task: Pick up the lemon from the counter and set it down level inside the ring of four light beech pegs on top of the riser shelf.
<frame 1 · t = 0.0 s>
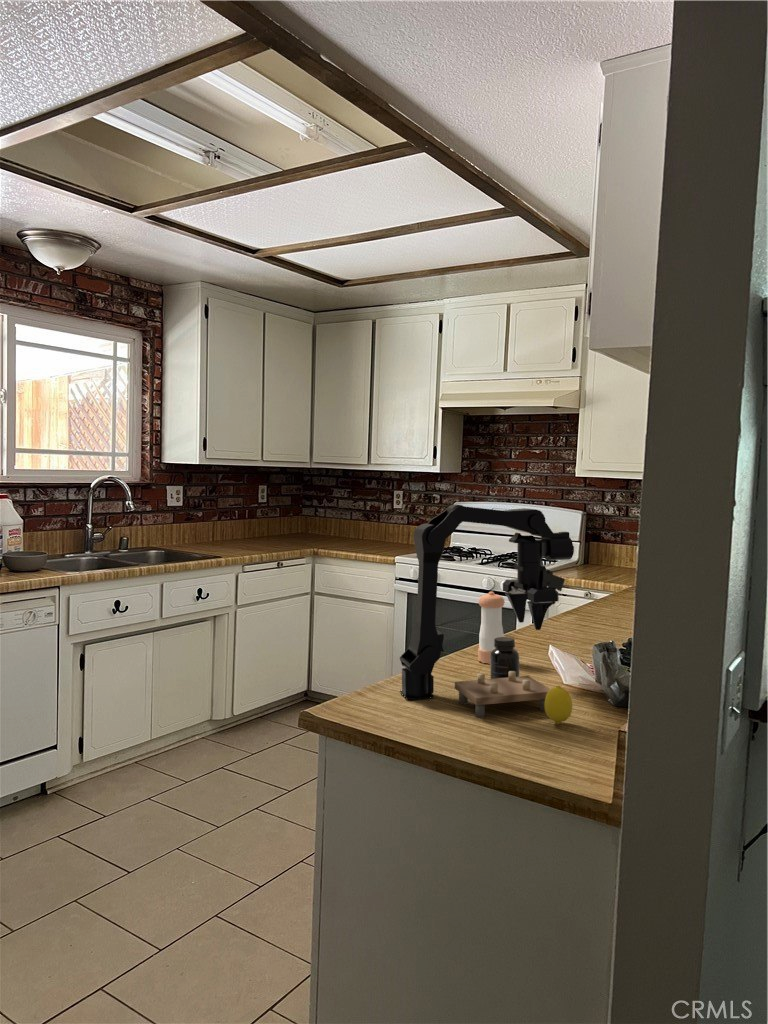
hand: (529, 626, 184), 15 cm above the counter, tool pointing down, fingers open, 9 cm apart
pepper shaker: (491, 662, 209), on the counter
peg shelf: (503, 706, 169), on the counter
lemon: (558, 725, 157), on the counter
supplement bottle: (504, 689, 183), on the counter
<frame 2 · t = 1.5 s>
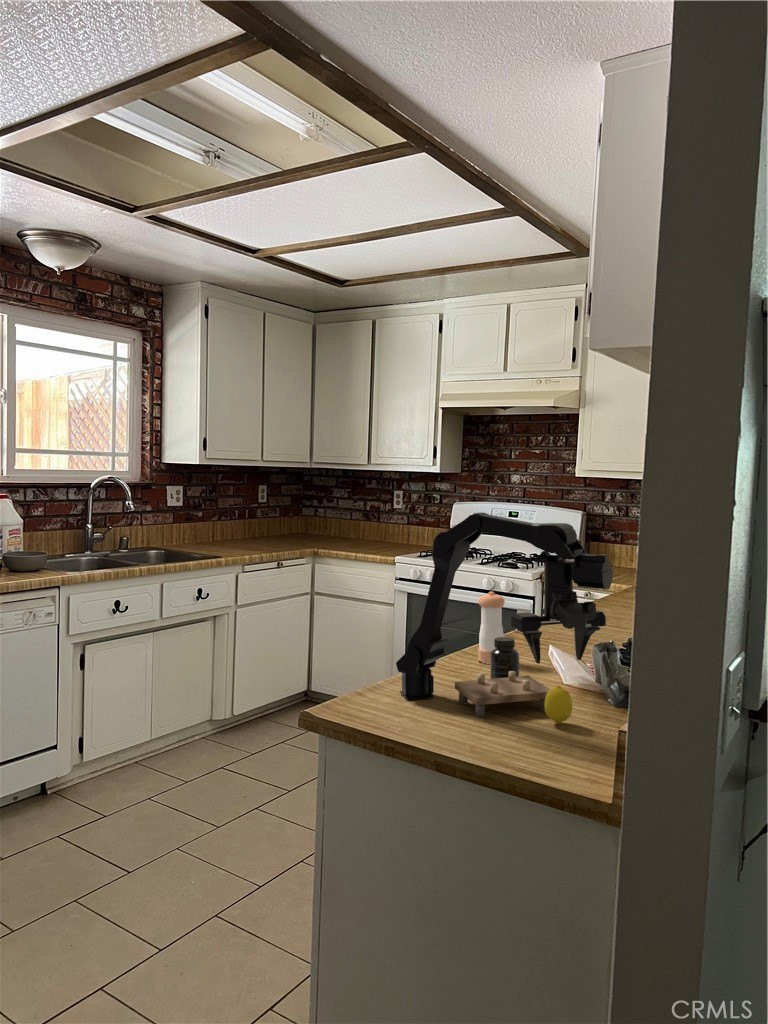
hand: (558, 661, 157), 13 cm above the counter, tool pointing down, fingers open, 9 cm apart
nothing on the counter moved.
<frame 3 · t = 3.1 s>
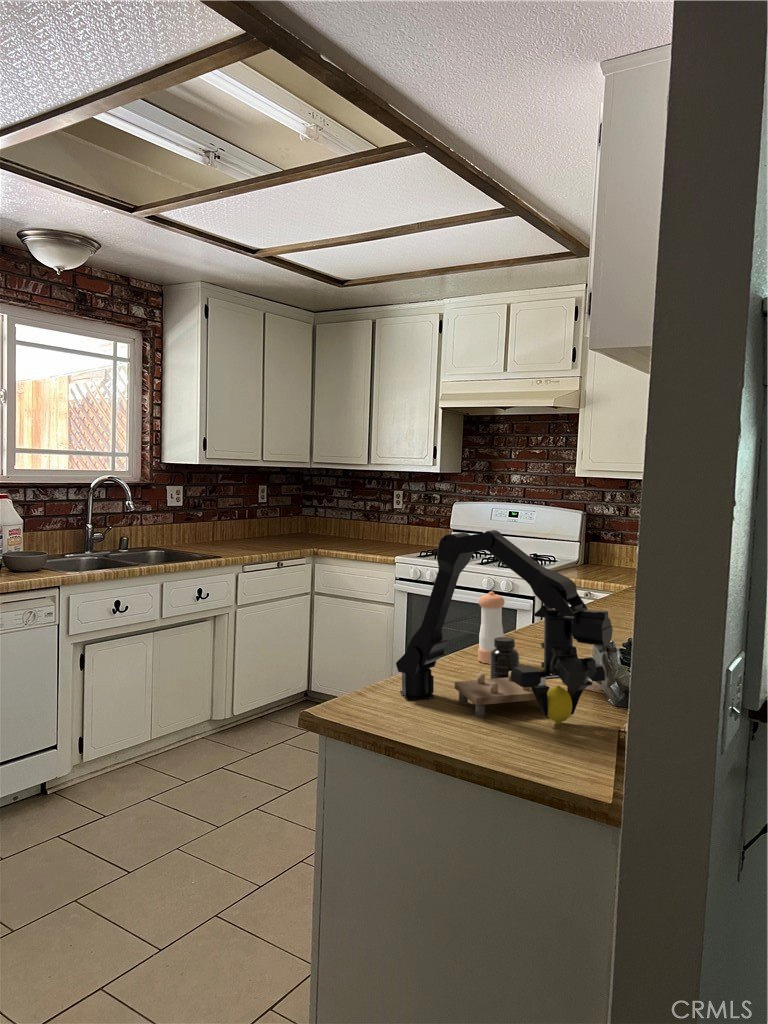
hand: (558, 715, 157), 2 cm above the counter, tool pointing down, fingers closed on lemon, 5 cm apart
lemon: (558, 725, 157), on the counter, touching gripper
everything else where it was.
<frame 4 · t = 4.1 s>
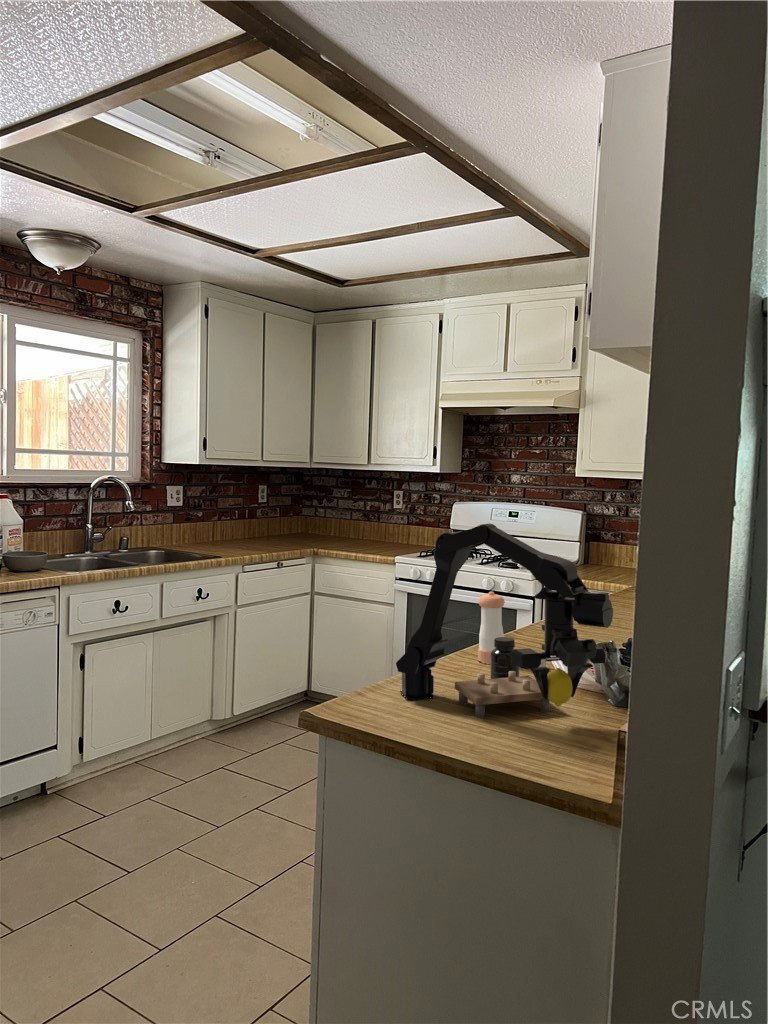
hand: (558, 697, 157), 6 cm above the counter, tool pointing down, fingers closed on lemon, 5 cm apart
lemon: (558, 707, 157), point 3 cm above the counter, touching gripper
everything else where it was.
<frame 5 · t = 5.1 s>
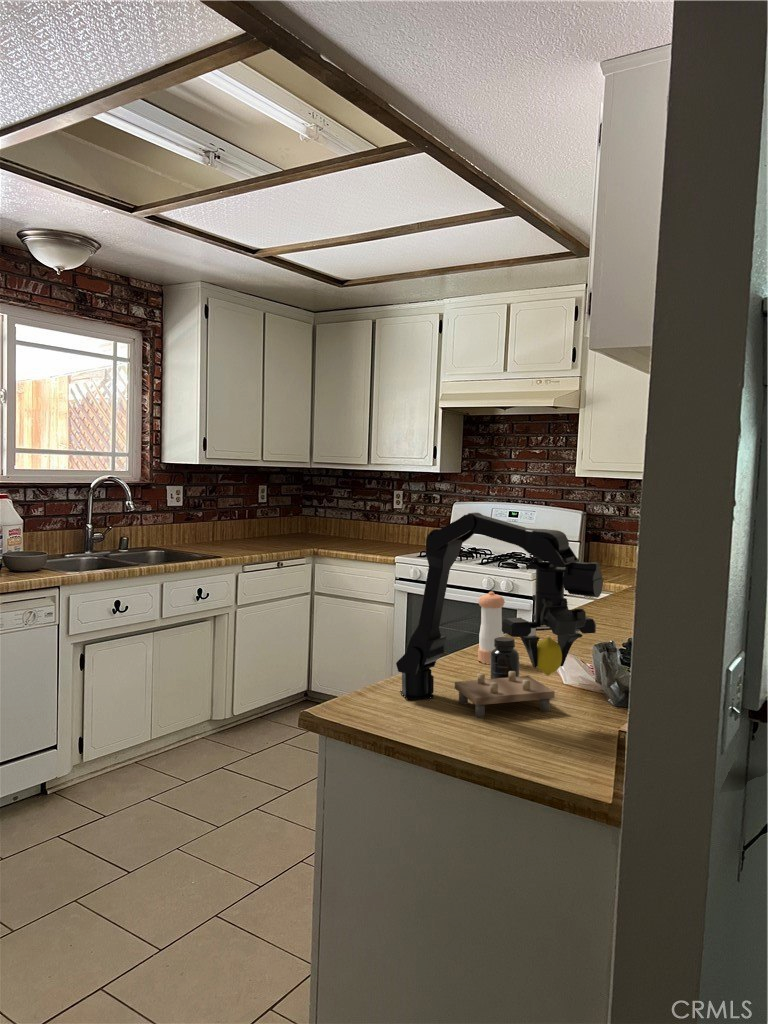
hand: (547, 666, 159), 11 cm above the counter, tool pointing down, fingers closed on lemon, 5 cm apart
lemon: (547, 676, 159), point 9 cm above the counter, touching gripper
everything else where it was.
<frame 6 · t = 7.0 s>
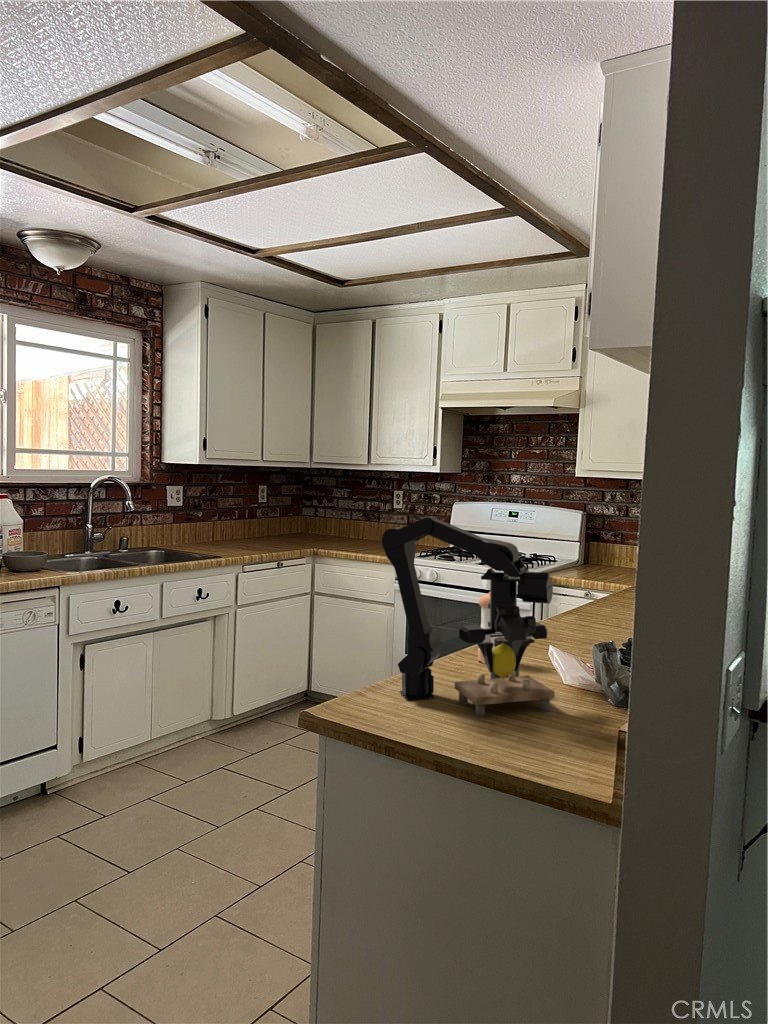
hand: (503, 671, 169), 8 cm above the counter, tool pointing down, fingers closed on lemon, 5 cm apart
lemon: (503, 679, 169), point 6 cm above the counter, touching gripper
everything else where it was.
when the fingers open (8 cm above the counter, at t = 7.4 s): lemon drops 2 cm, resting on peg shelf.
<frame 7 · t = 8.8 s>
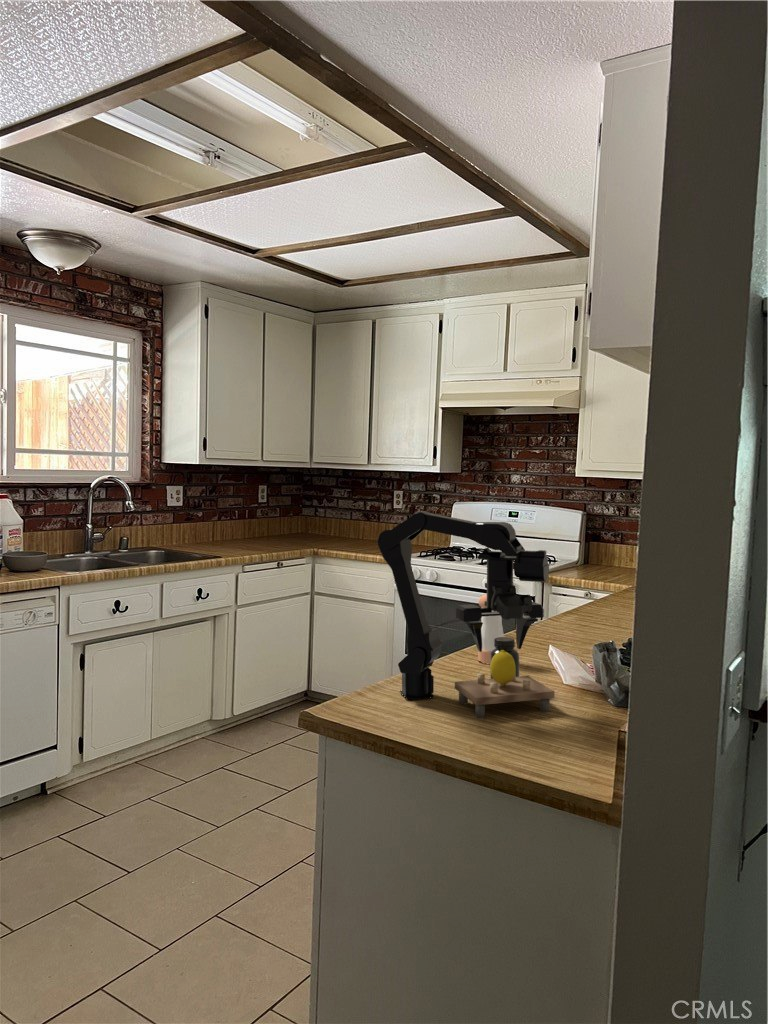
hand: (499, 650, 169), 12 cm above the counter, tool pointing down, fingers open, 9 cm apart
lemon: (503, 687, 169), point 4 cm above the counter, touching peg shelf
everything else where it was.
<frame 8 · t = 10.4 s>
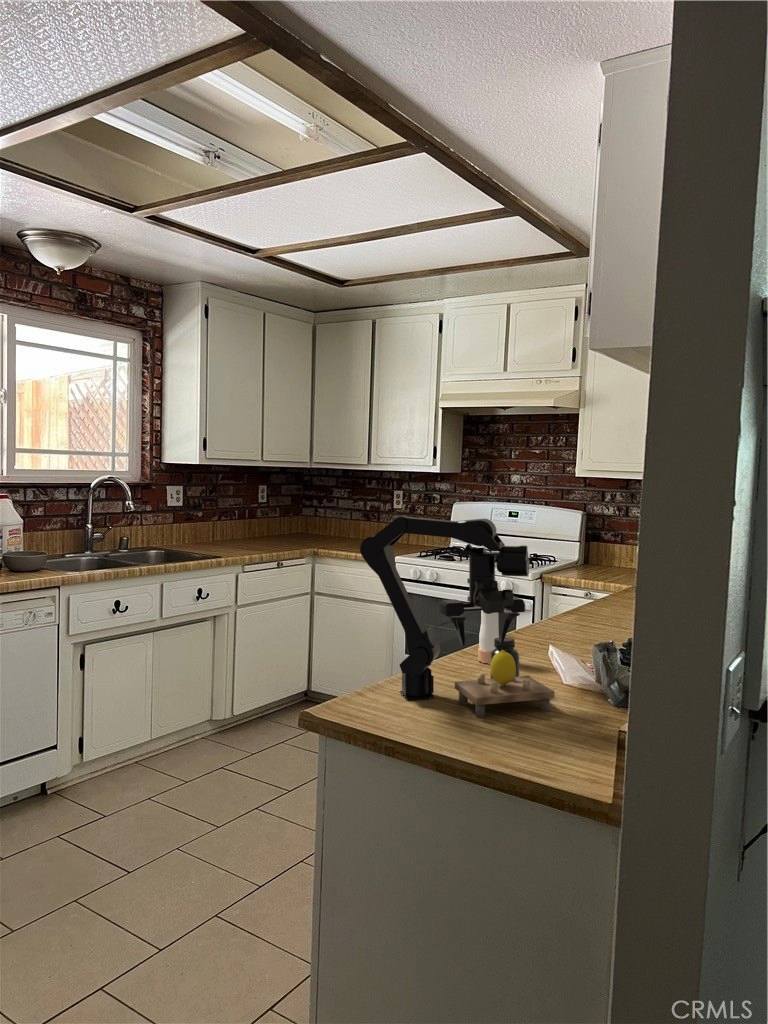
hand: (482, 644, 173), 13 cm above the counter, tool pointing down, fingers open, 9 cm apart
nothing on the counter moved.
at the end: lemon 0.1 cm off-centre on the peg shelf, point 4.3 cm above the peg shelf's base; the gripper is holding nothing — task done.
